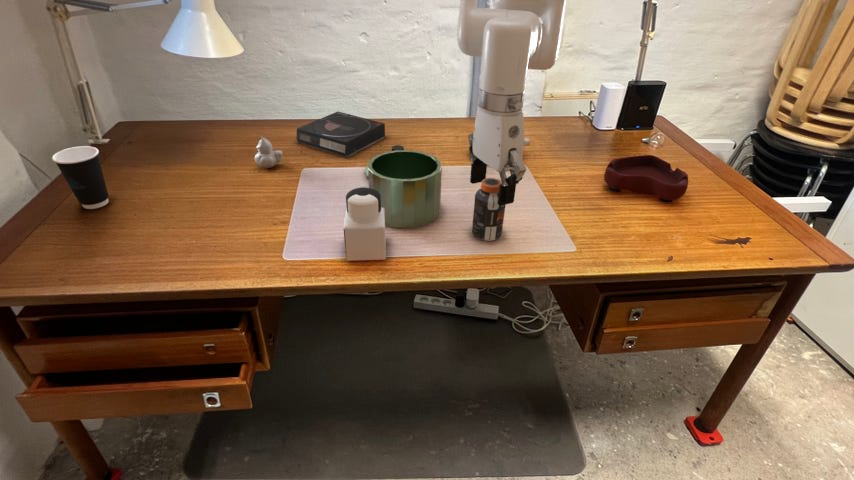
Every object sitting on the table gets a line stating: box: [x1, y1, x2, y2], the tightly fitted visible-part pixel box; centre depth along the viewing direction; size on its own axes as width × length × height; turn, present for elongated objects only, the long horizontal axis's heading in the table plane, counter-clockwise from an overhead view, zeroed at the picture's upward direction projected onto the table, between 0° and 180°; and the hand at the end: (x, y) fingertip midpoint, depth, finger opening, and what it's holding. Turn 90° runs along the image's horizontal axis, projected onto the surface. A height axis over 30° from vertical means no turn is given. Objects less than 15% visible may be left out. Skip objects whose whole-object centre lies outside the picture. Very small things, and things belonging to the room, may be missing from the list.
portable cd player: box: [295, 111, 386, 158], centre depth 136 cm, size 16×17×4 cm
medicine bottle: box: [343, 186, 387, 262], centre depth 91 cm, size 7×7×12 cm
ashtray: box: [603, 154, 689, 204], centre depth 118 cm, size 18×16×5 cm
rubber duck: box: [254, 134, 284, 169], centre depth 121 cm, size 5×7×8 cm
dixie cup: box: [51, 145, 110, 210], centre depth 103 cm, size 8×8×11 cm
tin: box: [367, 149, 443, 230], centre depth 104 cm, size 15×15×10 cm
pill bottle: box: [471, 177, 506, 242], centre depth 97 cm, size 6×6×11 cm
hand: (491, 192), depth 95 cm, fingers open, 9 cm apart
